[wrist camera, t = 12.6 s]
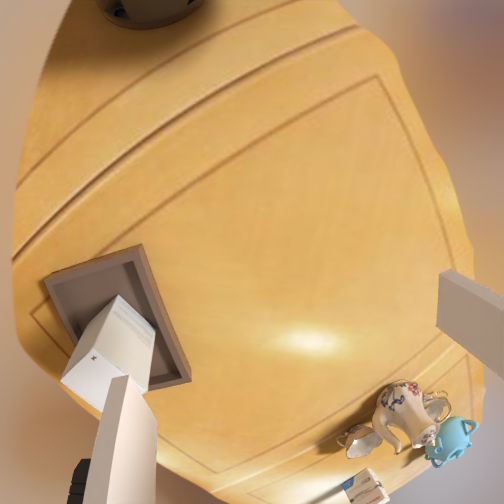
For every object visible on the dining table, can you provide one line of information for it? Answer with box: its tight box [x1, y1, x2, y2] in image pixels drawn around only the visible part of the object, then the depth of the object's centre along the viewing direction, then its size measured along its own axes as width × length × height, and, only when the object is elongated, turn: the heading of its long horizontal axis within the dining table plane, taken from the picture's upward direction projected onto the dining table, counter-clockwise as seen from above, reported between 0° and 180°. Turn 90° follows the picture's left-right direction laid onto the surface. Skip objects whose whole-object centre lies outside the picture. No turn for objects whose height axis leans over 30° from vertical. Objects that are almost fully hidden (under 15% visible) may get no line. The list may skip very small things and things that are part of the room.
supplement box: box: [60, 295, 156, 413], centre depth 33 cm, size 7×7×13 cm
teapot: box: [425, 417, 478, 468], centre depth 61 cm, size 15×17×11 cm
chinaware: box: [337, 380, 452, 459], centre depth 48 cm, size 28×17×17 cm, turn 106°
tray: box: [44, 244, 192, 391], centre depth 38 cm, size 20×14×3 cm
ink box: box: [342, 468, 390, 504], centre depth 58 cm, size 8×5×12 cm, turn 130°
